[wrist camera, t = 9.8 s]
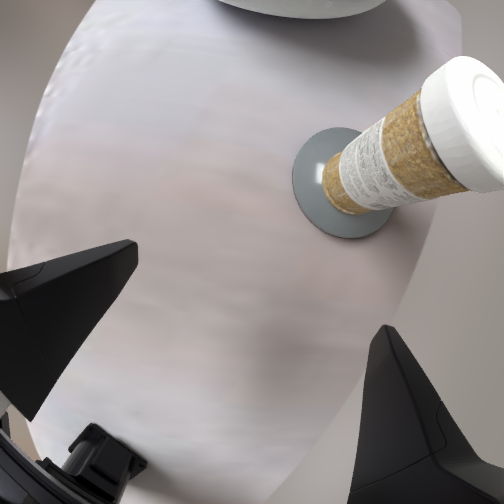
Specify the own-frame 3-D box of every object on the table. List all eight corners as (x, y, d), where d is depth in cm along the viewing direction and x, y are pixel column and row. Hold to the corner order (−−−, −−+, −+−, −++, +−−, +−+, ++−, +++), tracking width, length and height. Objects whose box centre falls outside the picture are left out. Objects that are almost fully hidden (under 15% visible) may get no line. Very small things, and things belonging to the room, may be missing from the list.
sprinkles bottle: (378, 160, 19) (520, 88, 5) (375, 221, 19) (540, 202, 5) (321, 147, 18) (438, 29, 5) (316, 211, 18) (466, 160, 5)
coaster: (350, 261, 20) (355, 261, 19) (268, 182, 19) (269, 180, 18) (407, 185, 20) (413, 183, 19) (336, 112, 19) (340, 108, 18)
